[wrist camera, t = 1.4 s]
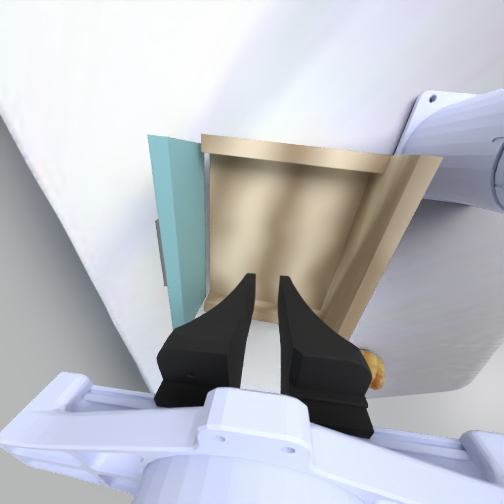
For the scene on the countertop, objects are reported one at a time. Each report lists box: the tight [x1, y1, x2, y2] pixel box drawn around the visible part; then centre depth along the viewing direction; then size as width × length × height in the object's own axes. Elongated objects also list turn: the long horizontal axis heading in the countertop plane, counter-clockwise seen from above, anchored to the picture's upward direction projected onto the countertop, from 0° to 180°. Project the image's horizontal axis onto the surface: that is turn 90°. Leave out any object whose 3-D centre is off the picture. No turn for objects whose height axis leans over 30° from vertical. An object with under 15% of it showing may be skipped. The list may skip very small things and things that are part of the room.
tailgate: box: [148, 135, 206, 330], centre depth 17 cm, size 2×17×6 cm, turn 174°
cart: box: [201, 134, 443, 341], centre depth 18 cm, size 15×18×8 cm
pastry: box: [360, 349, 385, 390], centre depth 29 cm, size 9×7×4 cm
